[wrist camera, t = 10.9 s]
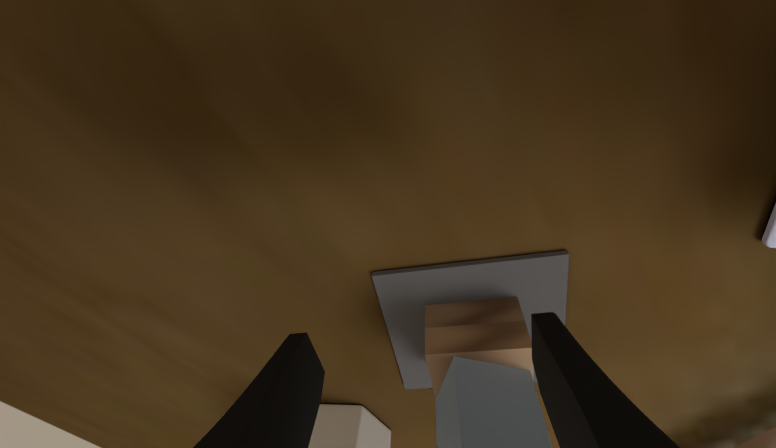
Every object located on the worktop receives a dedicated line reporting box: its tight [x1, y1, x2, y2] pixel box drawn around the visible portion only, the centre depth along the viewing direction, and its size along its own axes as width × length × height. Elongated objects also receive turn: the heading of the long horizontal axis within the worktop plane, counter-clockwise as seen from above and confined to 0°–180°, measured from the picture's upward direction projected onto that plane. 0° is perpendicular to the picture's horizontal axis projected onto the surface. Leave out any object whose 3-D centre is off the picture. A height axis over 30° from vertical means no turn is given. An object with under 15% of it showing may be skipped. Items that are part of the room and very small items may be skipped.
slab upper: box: [425, 320, 534, 399], centre depth 23 cm, size 6×6×2 cm
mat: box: [372, 250, 569, 389], centre depth 25 cm, size 12×12×1 cm
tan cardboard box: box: [425, 297, 525, 328], centre depth 24 cm, size 6×6×2 cm
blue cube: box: [436, 356, 552, 448], centre depth 20 cm, size 4×4×5 cm
